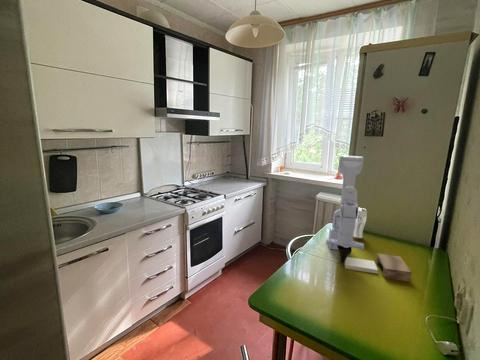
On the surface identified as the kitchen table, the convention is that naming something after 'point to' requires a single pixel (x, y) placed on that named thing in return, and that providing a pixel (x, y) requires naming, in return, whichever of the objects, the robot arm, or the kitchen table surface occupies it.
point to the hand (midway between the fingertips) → (342, 261)
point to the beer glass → (360, 223)
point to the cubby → (393, 267)
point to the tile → (360, 265)
